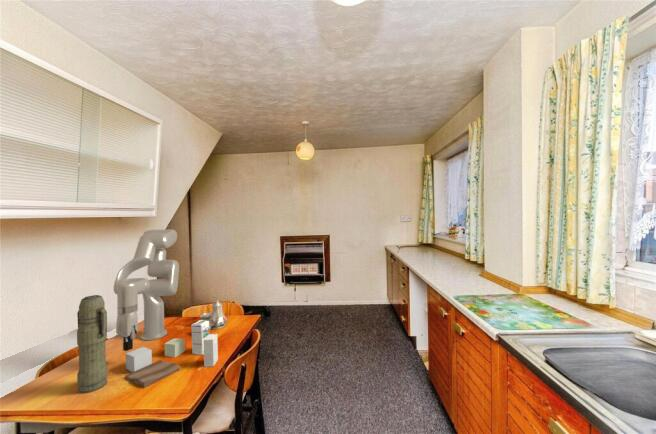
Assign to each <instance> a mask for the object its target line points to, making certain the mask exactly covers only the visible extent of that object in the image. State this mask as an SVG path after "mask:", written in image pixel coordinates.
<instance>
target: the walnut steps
mask: <svg viewBox="0 0 656 434" xmlns="http://www.w3.org/2000/svg"><path fill="white" fill-rule="evenodd" d="M179 371H180V364H178V363H177V364H176V363H175V362H172V361H169V360H168V361H167V362H166V361H164V360H162V359H159V360H157V361H155V362H152V364H150V365H148V366H146V367H143V368H141V369H139V370H137V371H134V372H130V373H127V374H126V375H125V377H124V378H125V379H127V380H129V381H130V382H132V383H134V384H137V385H138V386H140V387H142V388H144V389H145V388H147V387H149V386H151V385H153V384H155V383H157V382H159V381H161V380H163V379H165V378H167V377H168V376H170V375H172V374H174V373H177V372H179Z"/></svg>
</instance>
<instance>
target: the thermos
mask: <svg viewBox="0 0 656 434" xmlns="http://www.w3.org/2000/svg"><path fill="white" fill-rule="evenodd" d="M76 313H77V314H76V315H77V330H76V342H77V343H76V345H77V346H78V371H77V374H76V375H77V377H76V380H77V382H76V383H77V392H78V393H79V394H88V393H92V392H96V391H99V390H100V389H101V388H104V386H106V385H107V384H108V375H109V373H108V370H109V369H108V364H107V362H106V357H107V355H106V354H107V352H106V341H107V338H108V332H107V331H108V312H107V310H106V308H105V300H104V298H103V296H102V295H100V294H98V295H97V294H93V295H88V296H85V297H83V298H81V300H80V303H79V305H78V311H77V312H76Z"/></svg>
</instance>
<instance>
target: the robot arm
mask: <svg viewBox="0 0 656 434" xmlns="http://www.w3.org/2000/svg"><path fill="white" fill-rule="evenodd" d="M177 239H178V232H177V231H176V230H175V229H170V228H169V229H168V228H167V229H149V230H146V231H144V232H143V235H141V236H140V237H139V241H138V243H137V246H136V250H135V252H134V256H133V258H132V259H131V260H129V261H128V262H127V263H126V264H124V266H122V267H121V268H120V269H119V271H118V273H117V274H116V277H115V280H114V284H113V293H114V294H115V295H116V299H117V301H116V302H117V304H116V306H117V309H116V310H117V315H116V324H115V325H116V327H115V329H116V335H118V336H121V337H122V351H124V352H128V351H130V350H132V349H133V347H134V346H133V345H134V344H133V342H134V339H136V334H138V332H139V321H138V320H139V319H138V310H139V309H138V308H139V305H138V303H139V301H138V299H139V298H138V297H139V295H142V299H143V331H144V332H143V334H141V335H140V340H143V341H152V340H157V339H161V338H164V337H165V336H166V335H168V330H167V329H165V303H164V301H163V299H162V297H167V296H173V295H175V294H176V293H177V291H178V287H179V286H178V285H179V274H180V264H179V262H178V261H177V260H176V259H167V250H166V249H168V248H170V247H172V246H173V245H174V244H175V243H176V242H177V241H178V240H177ZM144 267H147V273H146V274H147V276H149V277H151V278H156V279H148V278H145V277H140V278H139V277H137V278H128V277H129V276H130V275H131V274H132V273H134V272H135V271H138V270H140V269H142V268H144ZM162 277H168V278H162Z"/></svg>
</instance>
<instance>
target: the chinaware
mask: <svg viewBox="0 0 656 434" xmlns="http://www.w3.org/2000/svg"><path fill="white" fill-rule="evenodd" d="M223 304H224V303H223V302H220V301H219V300H218V299H216V301H215V302H214V303H212V304H211V307H212V310H211V312H206V313H205V312H203V313H202V314H200V315H198V316H199V318H200V320H207V321H209V331H210V330H219V328H220V329H222V328H224V327H225V326H226V324H227V322H228V319H227V317H226V316H225V314H224V311H223Z"/></svg>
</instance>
